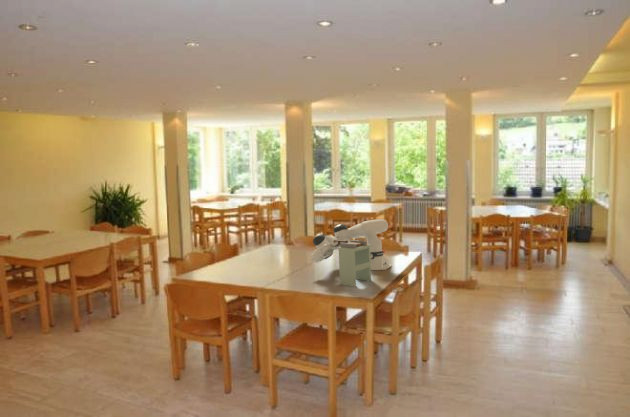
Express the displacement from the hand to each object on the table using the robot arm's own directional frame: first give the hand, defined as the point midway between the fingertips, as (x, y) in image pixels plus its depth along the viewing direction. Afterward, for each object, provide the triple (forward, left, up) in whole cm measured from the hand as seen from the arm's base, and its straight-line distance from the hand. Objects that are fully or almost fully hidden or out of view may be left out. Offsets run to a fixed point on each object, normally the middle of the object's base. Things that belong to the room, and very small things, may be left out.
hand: (340, 241), depth 366 cm
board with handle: (0, +5, -2) cm, 6 cm away
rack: (-1, +12, -28) cm, 31 cm away
